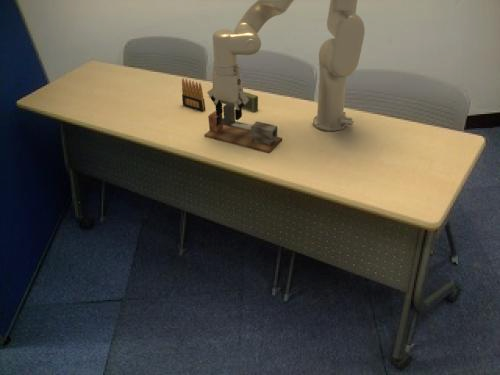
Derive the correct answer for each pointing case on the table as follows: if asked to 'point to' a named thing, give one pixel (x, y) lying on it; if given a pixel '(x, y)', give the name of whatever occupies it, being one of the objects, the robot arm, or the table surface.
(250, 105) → the handheld radio
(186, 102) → the ammunition clip
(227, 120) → the tube
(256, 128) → the tube stand
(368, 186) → the table surface
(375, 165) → the table surface
